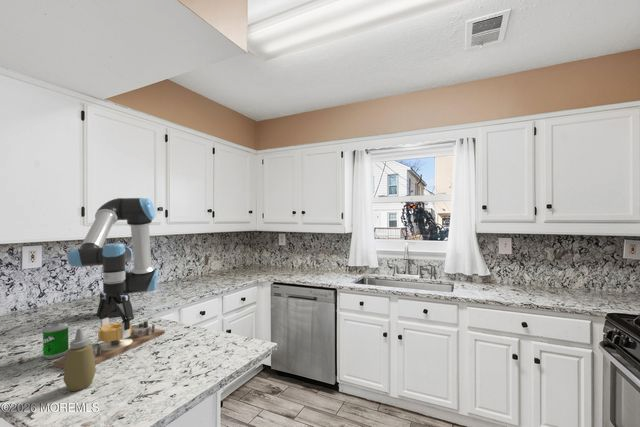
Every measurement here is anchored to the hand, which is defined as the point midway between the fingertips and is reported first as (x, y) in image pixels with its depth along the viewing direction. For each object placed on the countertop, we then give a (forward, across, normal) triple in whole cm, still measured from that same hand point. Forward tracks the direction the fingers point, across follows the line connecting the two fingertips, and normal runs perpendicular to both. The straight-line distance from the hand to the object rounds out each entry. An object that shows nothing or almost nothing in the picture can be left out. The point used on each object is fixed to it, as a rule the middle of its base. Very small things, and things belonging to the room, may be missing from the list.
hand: (115, 336), depth 125 cm
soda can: (+5, -16, -12) cm, 21 cm away
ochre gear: (0, 0, 0) cm, 0 cm away
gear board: (+5, 0, 0) cm, 5 cm away
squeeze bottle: (+5, +17, -24) cm, 30 cm away
